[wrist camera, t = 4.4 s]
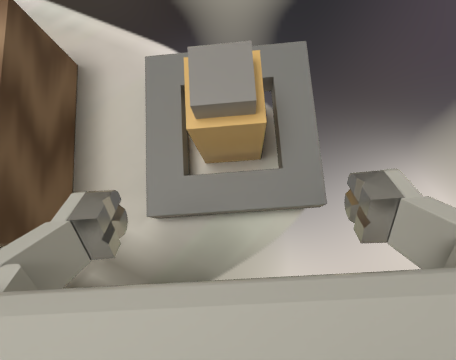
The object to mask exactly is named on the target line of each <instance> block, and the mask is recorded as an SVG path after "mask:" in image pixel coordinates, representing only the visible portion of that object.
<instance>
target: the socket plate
mask: <svg viewBox="0 0 456 360" xmlns="http://www.w3.org/2000/svg"><path fill="white" fill-rule="evenodd" d="M255 50H260V57H261V68H262V79H263V89H264V91H271V93H272V103H273V113H274V123H275V134H276V144H277V154H278V164H279V169H266V170H253V171H240V172H227V173H214V174H201V175H189V156H188V131H187V130H186V107H185V80H184V57H188V53H178V54H167V55H157V56H147V57H145V89H146V194H147V217H152V218H168V217H183V216H198V215H212V214H227V213H241V212H256V211H270V210H285V209H299V208H314V207H321V206H323V205H325V204H327V200H326V193H325V185H324V177H323V169H322V162H321V154H320V146H319V138H318V131H317V123H316V115H315V107H314V99H313V92H312V84H311V76H310V69H309V61H308V53H307V45H306V41H300V42H290V43H281V44H270V45H260V46H252V51H255Z"/></svg>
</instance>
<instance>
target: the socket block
mask: <svg viewBox="0 0 456 360" xmlns="http://www.w3.org/2000/svg"><path fill="white" fill-rule="evenodd" d="M77 67H78V65H77V64H76V63H75V62H74V61H73V60H72V59H71V58H70V57H69V56H68V55H67V54H66V53H65V52H64V51H63V50H62V49H61V48H60V47H59V46H58V45H57V44H56V43H55V42H54V41H53V40H52V39H51V38H50V37H49V36H48V35H47V34H46V33H45V32H44V31H43V30H42V29H41V28H40V27H39V26H38V25H37V24H36V23H35V22H34V21H33V19H32V18H31V17H30V16H29V15H28V14H27V13H26V12H25V11H24V10H23V9H22V8H21V7H20V6H19V5H18V4H17V3H16V2H15V1H14V0H0V246H6V245H8V244H10V243H11V242H13V241H15V240H16V239H18V238H20V237H22V236H23V235H25V234H27V233H28V232H30V231H32V230H33V229H35V228H37V227H39V226H40V225H42V224H44V223H45V222H50V221H51V220H52V219H53V217H54V216H55V215H56V213H57V212H58V211H59V209H60V208H61V207H62V206H63V204H64V203H65V202H66V200H67V199H68V198H69V196H70V195H71V194H72V193H73V168H74V143H75V117H76V92H77Z"/></svg>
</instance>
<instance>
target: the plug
mask: <svg viewBox="0 0 456 360" xmlns="http://www.w3.org/2000/svg"><path fill="white" fill-rule="evenodd" d="M184 80H185V107H186V130H187V131H188V133H189V135H190V137H191V138H192V140H193V142H194V144H195V145H196V147H197V149H198V151H199V152H200V154H201V156H202V158H203V159H204V161H205V163H219V162H232V161H245V160H257V159H261V153H262V147H263V141H264V135H265V129H266V123H267V121H266V111H265V100H264V89H263V79H262V68H261V57H260V50H255V51H252V43H251V41H243V42H233V43H222V44H213V45H202V46H192V47H188V57H184Z"/></svg>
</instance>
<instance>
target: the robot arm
mask: <svg viewBox="0 0 456 360" xmlns="http://www.w3.org/2000/svg"><path fill="white" fill-rule="evenodd" d="M347 184H348V186H349V187H350V190H349V191H348V192H347V193H346V194H345V210H346V214H347V216H348V219H349V220H350V221H352V222H353V223H355V225H354V231H355V233H356V234H357V237H358V238H359V240H360V243H383V242H384V243H386V242H388V244H389V245H390V246H391V247H393V248H394V249H395V250H397V251H398V252H399V253H401V254H402V255H403V256H405V257H406V258H408V259H409V260H410V261H412V262H413V263H414V264H416V265H417V266H418V267H419V268H421V269H420V270H419V269H418V270H401V271H384V272H365V273H349V274H348V273H347V274H327V275H308V276H291V277H290V276H289V277H269V278H251V279H234V280H215V281H197V282H179V283H160V284H142V285H123V286H105V287H86V288H67V289H62V288H63V287H64V286H65V285H67V284H68V283H69V282H70V281H71V280H72V279H73V278H74V277H75V276H76V275H77V274H78V273H79V272H80V271H81V270H82V269H83V268H84V267H85V266H87V265H88V264H89V263H90V262H91V260H97V259H109V258H115V256H116V254H117V252H118V249H119V247H120V244H121V243H120V240H119V238H121V237H122V236H123V235H124V234H125V232H126V230H127V223H128V219H127V214H126V211H125V209H124V208H123V207H122V206H120V205H119V203H120V201H121V198H120V195H119V193H118V192H117V191H116V190H105V191H88V192H87V191H86V192H75V193H72V194H71V195H70V196H69V198H68V199H67V200H66V202H65V203H64V204H63V206H62V207H61V208H60V209H59V211H58V212H57V213H56V215H55V216H54V217H53V219H52V220H51V221H50V222H45V223H44V224H42V225H40V226H39V227H37V228H35V229H33V230H32V231H30V232H28V233H27V234H25V235H23V236H22V237H20V238H18V239H16V240H15V241H13V242H11V243H10V244H8V245H6V246H5V247H3V248H1V249H0V360H456V208H455V207H452V206H450V205H448V204H445V203H443V202H441V201H438V200H436V199H433V198H431V197H429V196H426V197H423V195H422V194H421V193H420V192H419V191H418V190H417V189H416V188H415V187H414V185H413V184H412V183H411V182H410V181H409V180H408V179H407V178H406V177H405V176H404V175H403V173H402V172H401V171H400V170H398V169H387V170H380V171H370V172H359V173H350V175H349V177H348V182H347Z"/></svg>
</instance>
